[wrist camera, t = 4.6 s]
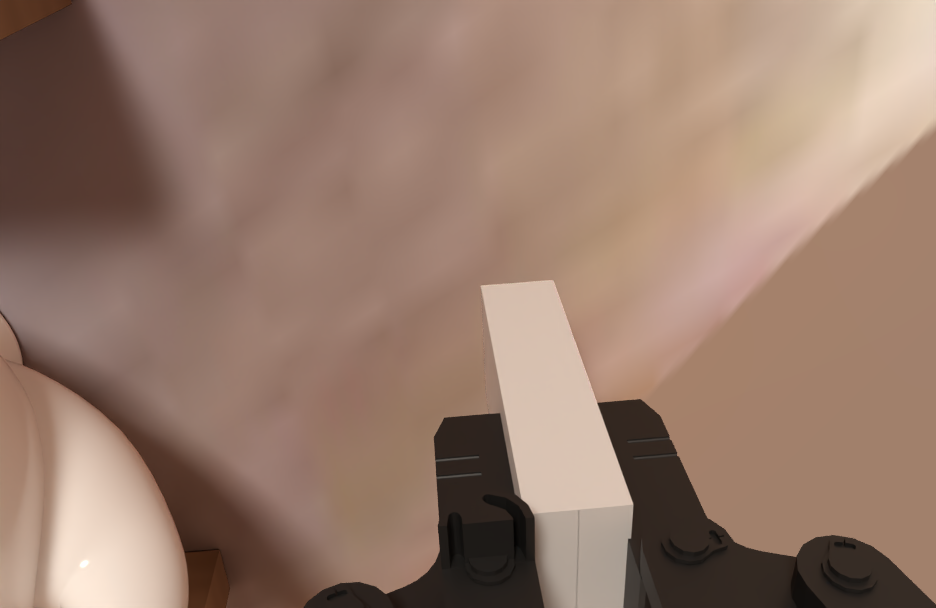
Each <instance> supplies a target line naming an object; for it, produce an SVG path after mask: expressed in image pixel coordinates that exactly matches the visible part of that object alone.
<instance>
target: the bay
mask: <svg viewBox="0 0 936 608" xmlns="http://www.w3.org/2000/svg"><path fill="white" fill-rule="evenodd" d="M71 4H72V3H71V0H0V40H1V39H3V38H5V37H7V36H9V35H11V34H13V33H15V32H17V31H19V30H21V29H23V28H25V27H27V26H29V25H31V24H33V23H35V22H37V21H39V20H41V19H43V18H45V17H47V16H49V15H51V14H53V13H55V12H57V11H59V10H61V9H63V8H65V7H67V6H69V5H71ZM185 558H186V563H187V569H188V580H189V599H188V608H226V604H227V600H228V595H229V591H230V587H229V583H228V579H227V576H226V572H225V568H224V565H223V561H222V557H221V553H220V550H210V551H199V552H187V553H185Z"/></svg>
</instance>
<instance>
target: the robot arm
mask: <svg viewBox="0 0 936 608" xmlns="http://www.w3.org/2000/svg"><path fill="white" fill-rule="evenodd" d="M481 300H482V322H483V345H484V367H485V390H486V399H487V405H488V411H489V414H483V415H471V416H460V417H448V418H444V420H443V421H442V423H441V425H440V427H439V429H438V431H437V433H436V434H435V436H434V445H435V461H436V476H437V492H438V508H439V524H438V533H439V544H440V552H439V555H438V557H437V559H436V562H435V563H434V565H433V566H432V567H431V568H430V570H429V571H428V572H427V573H426V574H425V575H423V576H422V577H421V578H420V579H418V580H417V581H415V582H413V583H411V584H409V585H407V586H405V587H403V588H400V589H398V590H395V591H393V592H390V593H387V594H385V593H383V592H382V591H381V590H379V589H378V588H377V587H375V586H371V585H368V584H364V583H360V582H354V583H340V584H338V585H335V586H332V587H329V588H327V589H324V590H322V591H321V592H320V593H318V594H317V595H316V596H314V597H313V598H312V599H310V600H309V601H308V602H307V603H306V605H305V607H304V608H936V604H935V603H934V602H932V601H931V599H929V598H928V597H927V596H926V595H925V594H924V593H923V592H922V591H921V590H920V589H919V588H918V587H917V586H916V585H915V584H914V583H913V582H912V581H911V580H910V579H909V578H908V577H907V576H906V575H905V574H904V573H903V572H902V571H901V570H900V569H899V568H898V567H897V566H896V565H895V564H894V563H893V562H892V561H891V560H890V559H889V558H887V557H886V556H884V555H883V554H882V553H880V552H879V551H878V550H876V549H875V548H874V547H872V546H870V545H868V544H865V543H863V542H861V541H858V540H856V539H853V538H848V537H841V536H835V535H831V536H823V537H816V538H814V539H812V540H810V541H809V542H807V543H805V544H803V546H802V547H801V549H800V551H799V553H798V555H797V557H793V556H786V555H780V554H773V553H768V552H762V551H758V550H754V549H749V548H746V547H744V546H742V545H739V544H737V543H735V542H734V541H733V540H732V539H731V537H730V536H729V534H728V533H727V532H726V530H725V529H724V528H722V527H721V526H719V525H717V524H716V523H714V522H713V521H712V520H710V519H708V518H707V516H706V515H705V513H704V510H703V508H702V506H701V504H700V502H699V500H698V497H697V495H696V493H695V491H694V489H693V486H692V484H691V482H690V480H689V478H688V476H687V473H686V471H685V469H684V467H683V465H682V463H681V460H680V458H679V457H677V452H676V449H675V448H674V445H673V443H672V441H671V440H670V439H669V434H668V432H667V430H666V428H665V425H664V423H663V421H662V419H661V417H660V415H658V414H657V413H656V412H655V411H654V410H653V409H651V408H650V407H649V406H648V405H647V404H646V403H644V402H643V401H642V400H641V399H638V400H626V401H614V402H603V403H597V401H596V398H595V396H594V393H593V390H592V387H591V384H590V382H589V379H588V376H587V373H586V370H585V368H584V365H583V362H582V359H581V356H580V354H579V351H578V348H577V345H576V342H575V340H574V337H573V334H572V331H571V328H570V326H569V323H568V320H567V317H566V314H565V312H564V309H563V306H562V303H561V300H560V298H559V295H558V292H557V289H556V286H555V284H554V281H553V280H547V281H535V282H522V283H509V284H496V285H483V286H481Z"/></svg>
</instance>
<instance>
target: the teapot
mask: <svg viewBox="0 0 936 608" xmlns="http://www.w3.org/2000/svg"><path fill="white" fill-rule="evenodd" d="M188 599H189V580H188V569H187V563H186V558H185V553H184V550H183V546H182V543H181V539H180V536H179V533H178V531H177V528H176V525H175V523H174V520H173V518H172V515H171V513H170V510H169V508H168V506H167V503H166V501H165V499H164V497H163V495H162V493H161V491H160V489H159V487H158V485H157V483H156V481H155V479H154V477H153V475H152V473H151V472H150V470H149V468H148V467H147V465H146V464H145V462H144V460H143V459H142V457H141V455H140V454H139V452H138V451H137V450H136V449H135V447H134V446H133V445H132V443H131V442H130V441H129V440H128V438H127V437H126V436H125V434H124V433H123V432H122V431H121V430H120V429H119V428H118V427H117V426H116V425H115V424H114V423H113V422H112V421H111V420H109V419H108V418H107V417H106V416H105V415H104V414H103V413H102V412H101V411H99V410H98V409H97V408H95V407H94V406H93V405H91V404H90V403H89V402H87V401H86V400H85V399H83V398H82V397H81V396H79V395H78V394H76V393H74V392H73V391H71V390H70V389H68V388H67V387H65V386H63V385H62V384H60V383H58V382H57V381H55V380H53V379H51V378H49V377H47V376H45V375H43V374H41V373H40V372H37V371H35V370H33V369H31V368H28V367H26V366H24V365H23V362H22V355H21V351H20V348H19V345H18V342H17V340H16V337H15V335H14V333H13V331H12V330H11V328H10V326H9V325H8V323H7V322H6V320H5V319H4V317H3V316H2V315H1V314H0V608H188Z"/></svg>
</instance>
